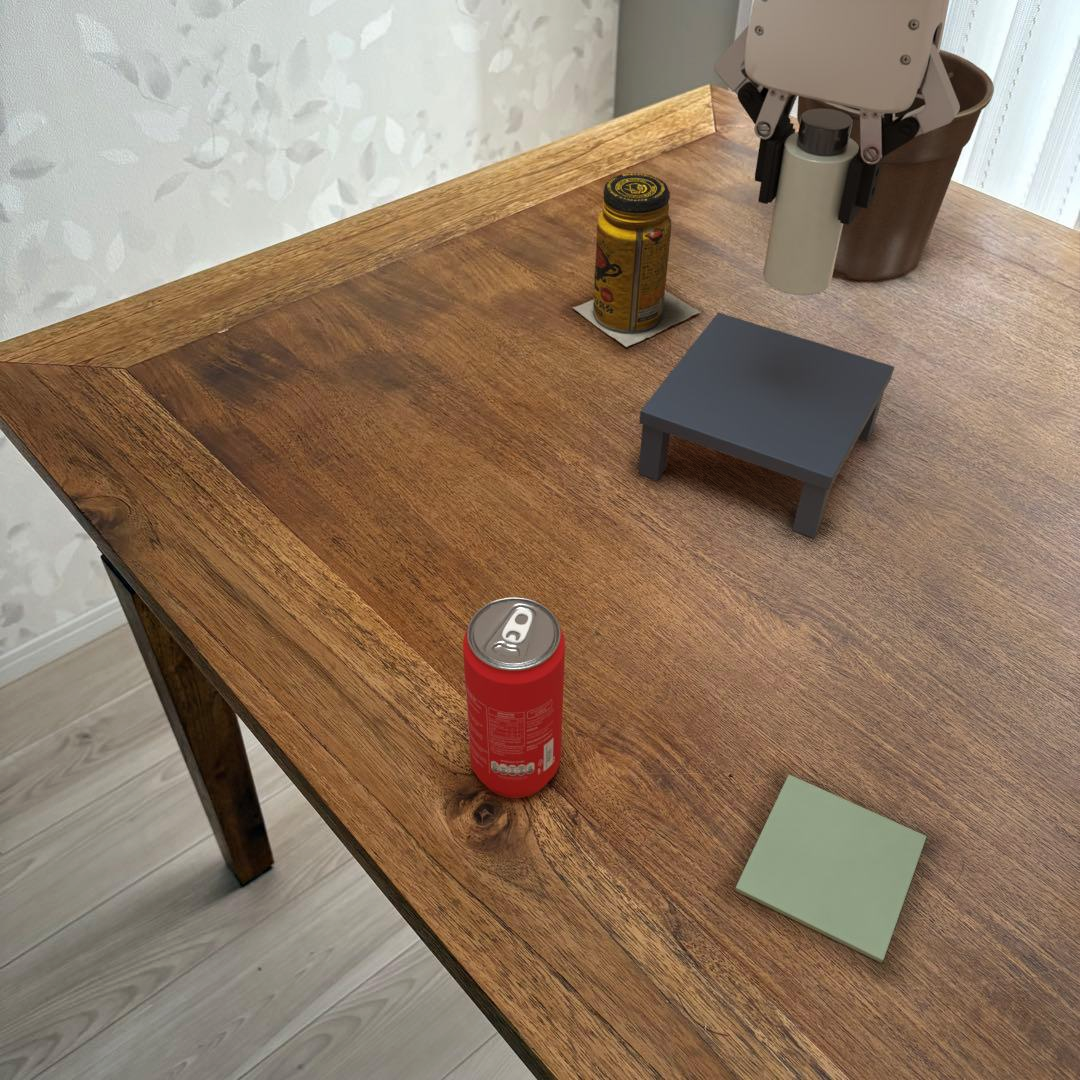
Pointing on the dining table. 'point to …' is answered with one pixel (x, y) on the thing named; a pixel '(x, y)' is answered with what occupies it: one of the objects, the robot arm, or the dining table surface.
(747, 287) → the dining table surface
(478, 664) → the beverage can
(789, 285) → the spice bottle
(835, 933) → the coaster
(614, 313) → the condiment
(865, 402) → the grey miniature table
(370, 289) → the dining table surface
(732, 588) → the dining table surface
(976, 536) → the dining table surface
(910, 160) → the plant pot
